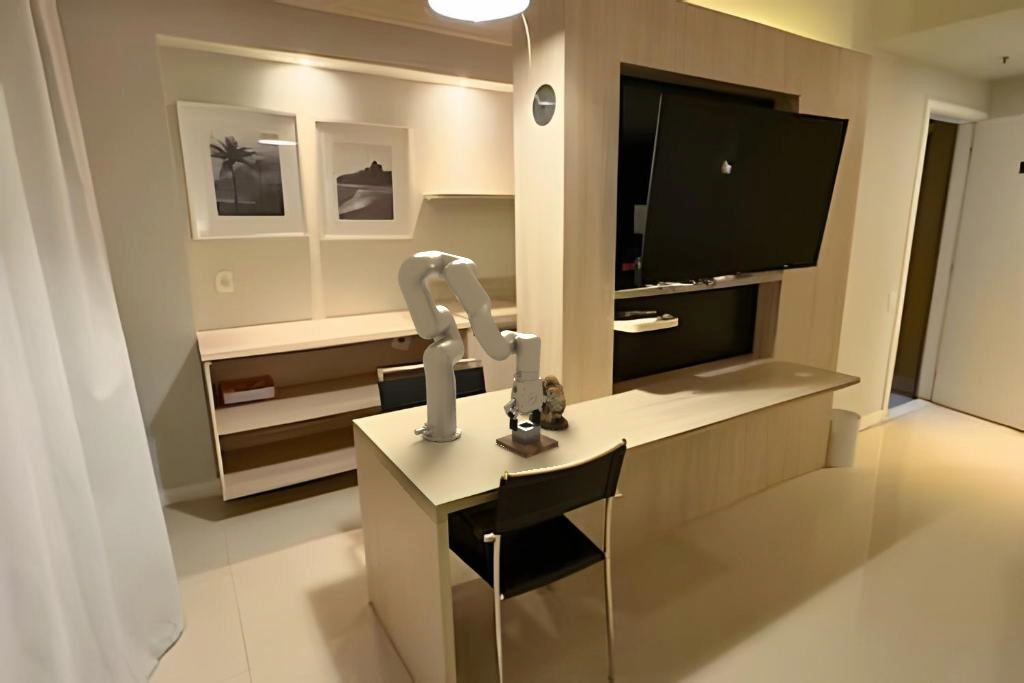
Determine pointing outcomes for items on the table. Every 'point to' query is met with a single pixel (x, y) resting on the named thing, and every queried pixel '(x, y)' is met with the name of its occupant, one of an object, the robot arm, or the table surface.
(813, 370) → the table surface
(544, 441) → the post base
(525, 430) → the collar
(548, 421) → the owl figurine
